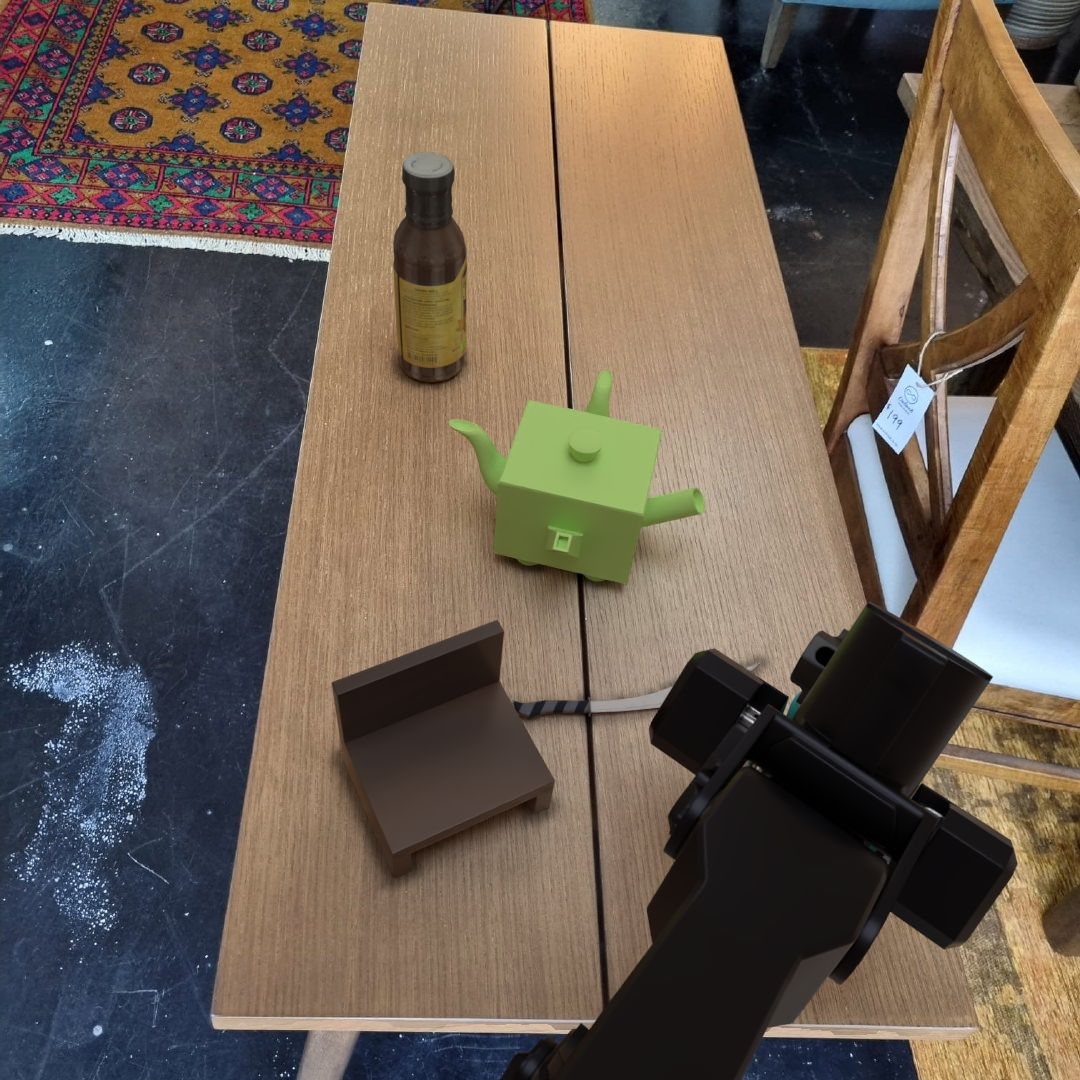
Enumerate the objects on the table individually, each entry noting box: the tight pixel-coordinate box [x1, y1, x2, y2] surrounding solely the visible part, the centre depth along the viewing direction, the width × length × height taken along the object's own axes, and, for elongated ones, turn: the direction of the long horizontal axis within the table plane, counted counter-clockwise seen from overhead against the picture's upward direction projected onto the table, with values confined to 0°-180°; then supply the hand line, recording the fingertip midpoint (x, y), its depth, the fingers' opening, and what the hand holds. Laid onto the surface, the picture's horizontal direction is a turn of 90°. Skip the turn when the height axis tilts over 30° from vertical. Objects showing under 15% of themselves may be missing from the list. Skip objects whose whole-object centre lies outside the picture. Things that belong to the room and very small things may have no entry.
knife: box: [511, 661, 761, 719], centre depth 71 cm, size 19×2×1 cm, turn 104°
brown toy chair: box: [331, 619, 556, 879], centre depth 63 cm, size 9×11×10 cm
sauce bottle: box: [392, 151, 468, 383], centre depth 85 cm, size 6×6×20 cm
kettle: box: [448, 369, 706, 585], centre depth 76 cm, size 15×14×11 cm
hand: (835, 763), depth 60 cm, fingers closed on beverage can, 6 cm apart
